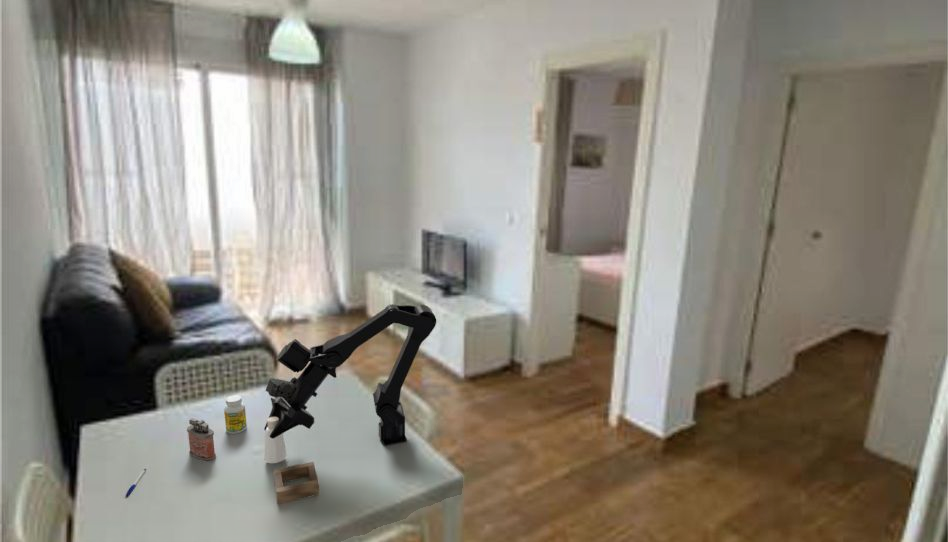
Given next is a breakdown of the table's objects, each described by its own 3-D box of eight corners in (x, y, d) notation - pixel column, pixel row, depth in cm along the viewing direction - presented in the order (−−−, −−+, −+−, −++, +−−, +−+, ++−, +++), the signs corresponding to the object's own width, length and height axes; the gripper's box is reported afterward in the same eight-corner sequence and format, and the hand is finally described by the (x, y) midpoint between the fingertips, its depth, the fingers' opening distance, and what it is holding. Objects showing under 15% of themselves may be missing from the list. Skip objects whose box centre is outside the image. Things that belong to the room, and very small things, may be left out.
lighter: (219, 456, 136) (216, 421, 134) (208, 463, 133) (204, 428, 131) (197, 448, 140) (194, 414, 137) (186, 455, 137) (182, 420, 134)
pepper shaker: (265, 466, 132) (262, 426, 129) (263, 454, 136) (260, 416, 134) (288, 460, 134) (285, 421, 131) (285, 449, 139) (282, 411, 136)
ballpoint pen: (129, 497, 120) (128, 493, 120) (125, 498, 120) (124, 494, 120) (146, 470, 130) (146, 466, 130) (142, 470, 130) (142, 467, 130)
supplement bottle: (244, 422, 153) (242, 392, 151) (248, 431, 149) (246, 399, 147) (224, 427, 150) (221, 396, 148) (227, 436, 146) (224, 404, 144)
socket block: (313, 472, 131) (313, 461, 131) (319, 494, 123) (318, 483, 122) (274, 480, 128) (273, 469, 127) (277, 504, 119) (276, 492, 119)
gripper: (272, 355, 139) (232, 405, 135) (299, 380, 125) (254, 437, 121) (303, 375, 146) (265, 423, 142) (332, 401, 131) (290, 455, 127)
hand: (268, 434), depth 133 cm, fingers closed on pepper shaker, 4 cm apart
